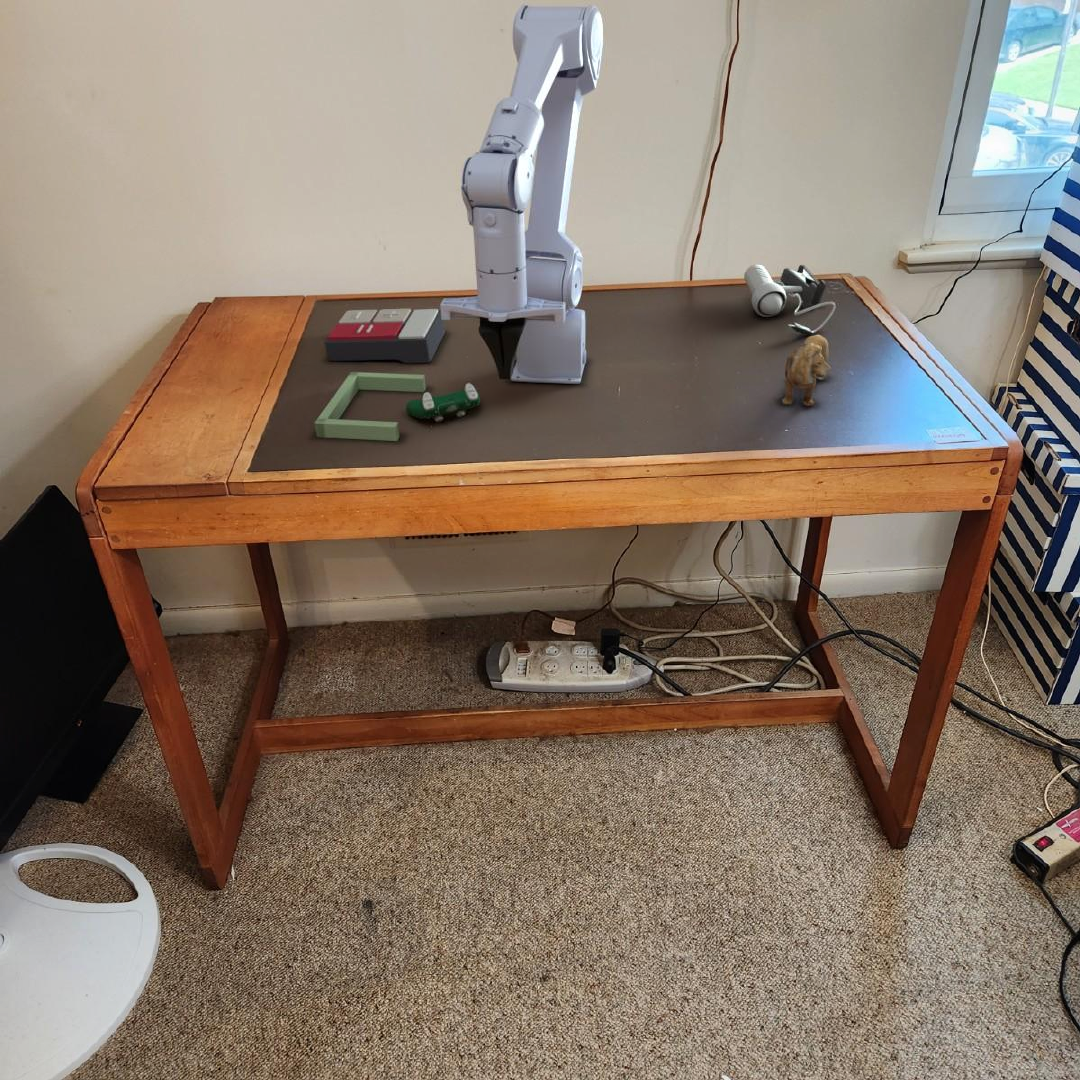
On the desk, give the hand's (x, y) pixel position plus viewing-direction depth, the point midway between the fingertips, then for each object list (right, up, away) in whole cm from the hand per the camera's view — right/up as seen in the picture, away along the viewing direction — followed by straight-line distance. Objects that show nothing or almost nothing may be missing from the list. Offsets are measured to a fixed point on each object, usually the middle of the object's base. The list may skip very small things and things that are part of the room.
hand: (506, 375), depth 109 cm
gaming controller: (-8, -4, +5) cm, 10 cm away
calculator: (-18, +8, +22) cm, 30 cm away
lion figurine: (+39, -1, +7) cm, 39 cm away
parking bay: (-17, -4, +6) cm, 18 cm away
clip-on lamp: (+43, +14, +28) cm, 53 cm away
